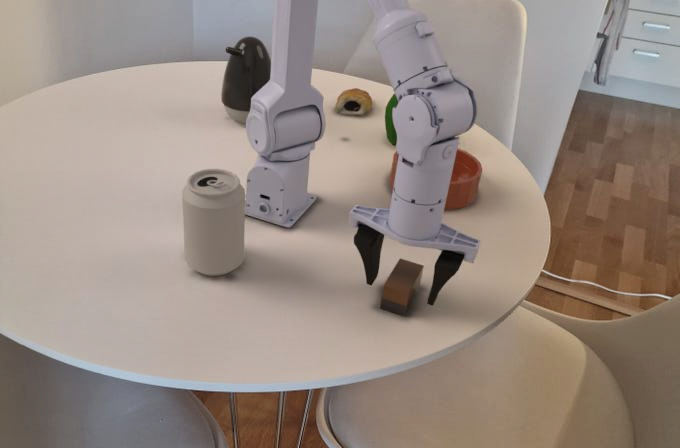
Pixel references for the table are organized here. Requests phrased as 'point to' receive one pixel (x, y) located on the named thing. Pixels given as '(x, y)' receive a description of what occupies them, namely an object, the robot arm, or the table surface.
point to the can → (213, 221)
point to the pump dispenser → (244, 76)
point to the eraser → (401, 287)
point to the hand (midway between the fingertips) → (401, 290)
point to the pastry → (354, 102)
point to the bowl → (456, 179)
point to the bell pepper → (391, 120)
